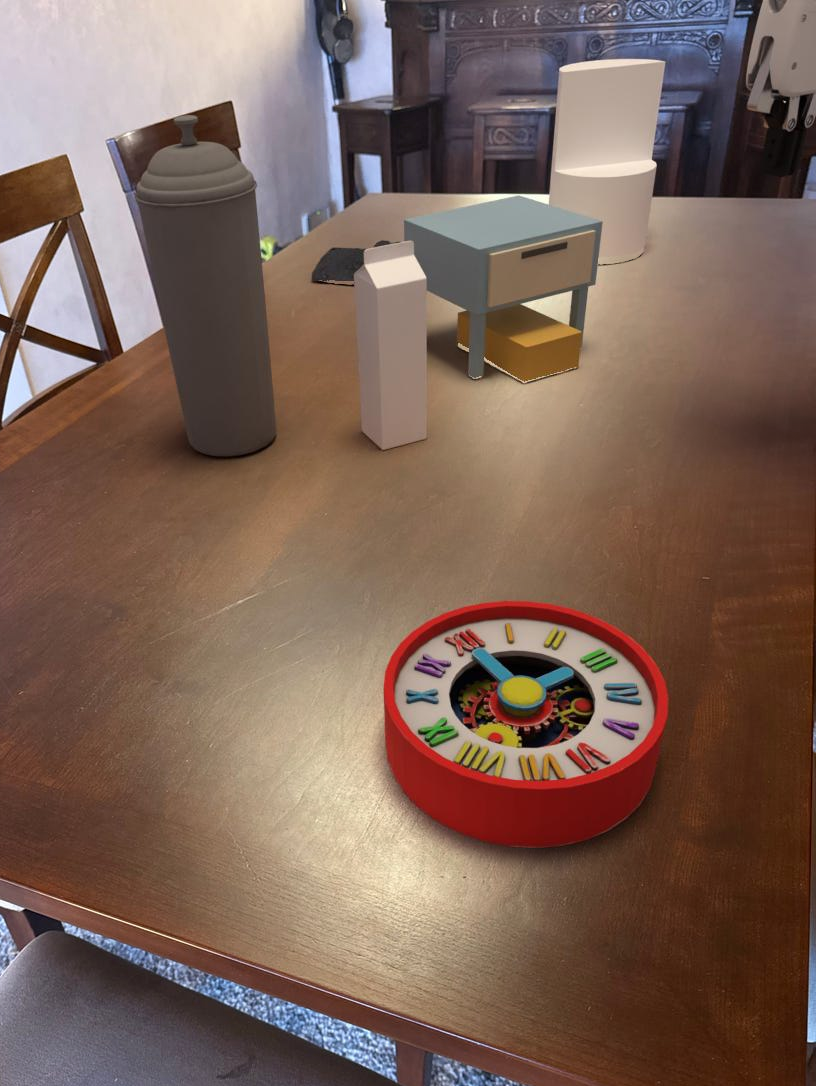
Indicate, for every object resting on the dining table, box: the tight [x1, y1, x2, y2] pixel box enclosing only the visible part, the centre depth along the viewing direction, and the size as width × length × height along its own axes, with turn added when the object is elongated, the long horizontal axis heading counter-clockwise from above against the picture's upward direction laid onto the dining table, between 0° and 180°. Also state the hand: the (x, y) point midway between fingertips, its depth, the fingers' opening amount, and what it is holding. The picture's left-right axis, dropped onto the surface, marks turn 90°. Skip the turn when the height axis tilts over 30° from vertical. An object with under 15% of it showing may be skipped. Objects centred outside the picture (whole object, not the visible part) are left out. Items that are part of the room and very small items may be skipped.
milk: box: [354, 241, 428, 451], centre depth 102 cm, size 6×6×22 cm
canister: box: [134, 114, 277, 458], centre depth 100 cm, size 13×13×35 cm
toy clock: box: [383, 600, 669, 849], centre depth 66 cm, size 20×6×20 cm
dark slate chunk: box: [311, 239, 402, 281], centre depth 157 cm, size 15×22×5 cm
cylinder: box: [548, 58, 666, 257], centre depth 151 cm, size 17×17×28 cm
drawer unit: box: [403, 195, 603, 378], centre depth 123 cm, size 19×19×17 cm
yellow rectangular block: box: [456, 304, 582, 382], centre depth 123 cm, size 16×9×5 cm, turn 27°
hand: (777, 173), depth 88 cm, fingers closed
